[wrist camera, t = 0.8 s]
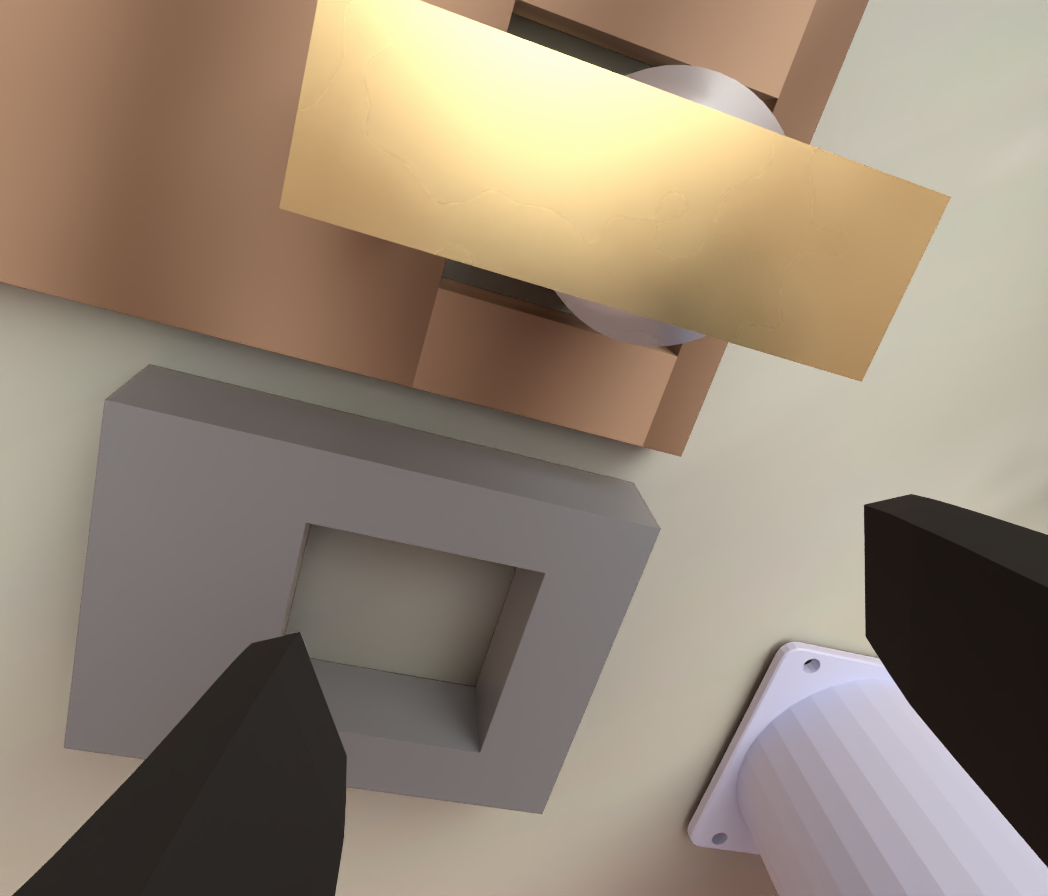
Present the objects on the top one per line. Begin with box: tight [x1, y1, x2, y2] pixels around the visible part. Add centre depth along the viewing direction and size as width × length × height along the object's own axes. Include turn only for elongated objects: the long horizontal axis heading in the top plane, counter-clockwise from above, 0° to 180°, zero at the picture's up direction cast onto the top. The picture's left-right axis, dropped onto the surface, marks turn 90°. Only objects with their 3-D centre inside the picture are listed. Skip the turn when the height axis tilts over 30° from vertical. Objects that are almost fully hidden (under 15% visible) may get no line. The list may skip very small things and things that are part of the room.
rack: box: [64, 365, 660, 814], centre depth 19 cm, size 12×9×2 cm
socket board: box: [0, 0, 869, 456], centre depth 15 cm, size 16×10×2 cm, turn 73°
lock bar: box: [279, 0, 951, 381], centre depth 12 cm, size 8×2×7 cm, turn 73°
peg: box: [554, 65, 785, 347], centre depth 14 cm, size 4×4×6 cm
